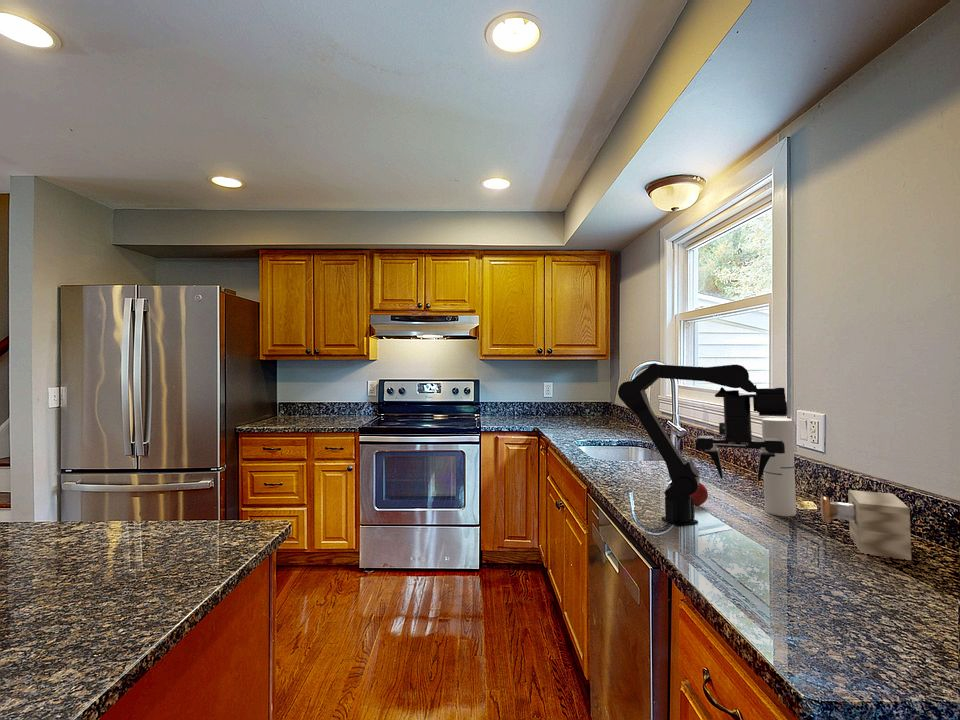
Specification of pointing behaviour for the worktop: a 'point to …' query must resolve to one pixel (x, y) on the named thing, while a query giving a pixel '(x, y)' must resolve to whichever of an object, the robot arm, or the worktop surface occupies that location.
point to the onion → (699, 495)
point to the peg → (837, 510)
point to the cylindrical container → (780, 469)
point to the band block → (880, 524)
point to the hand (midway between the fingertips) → (740, 479)
